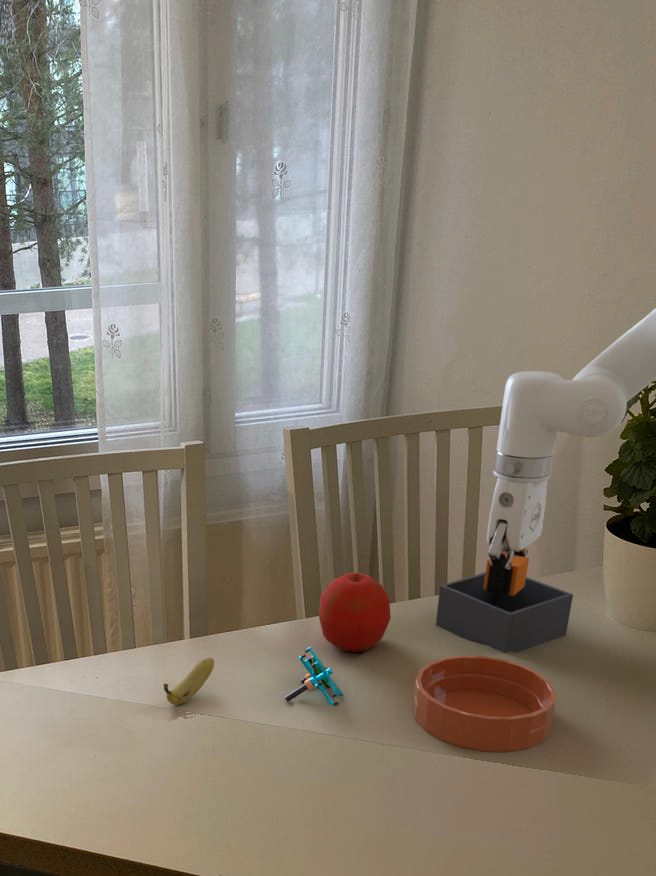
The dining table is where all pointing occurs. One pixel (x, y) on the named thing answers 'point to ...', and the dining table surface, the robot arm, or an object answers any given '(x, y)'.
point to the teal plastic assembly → (315, 678)
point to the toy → (518, 573)
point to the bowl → (484, 703)
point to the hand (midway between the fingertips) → (504, 585)
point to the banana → (190, 683)
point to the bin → (503, 613)
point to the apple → (354, 612)
